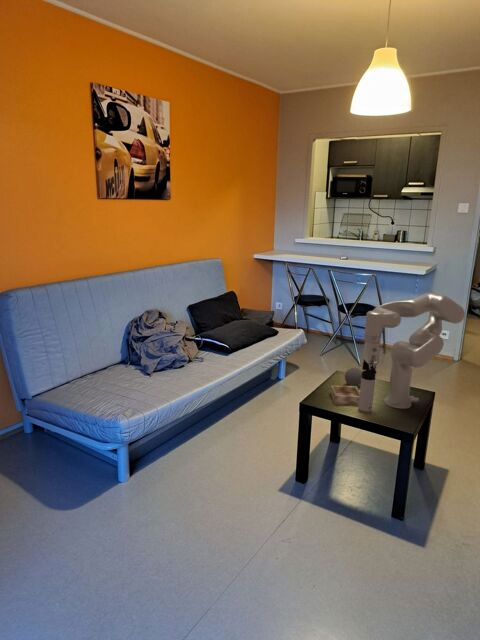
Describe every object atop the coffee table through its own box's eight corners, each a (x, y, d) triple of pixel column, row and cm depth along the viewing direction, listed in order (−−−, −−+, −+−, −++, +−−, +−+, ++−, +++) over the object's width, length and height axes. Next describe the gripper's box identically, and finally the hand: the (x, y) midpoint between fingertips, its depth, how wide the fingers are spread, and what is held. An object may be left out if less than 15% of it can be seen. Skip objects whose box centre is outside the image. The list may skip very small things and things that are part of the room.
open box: (355, 394, 231) (356, 386, 230) (361, 405, 218) (362, 396, 217) (330, 393, 231) (330, 385, 230) (334, 404, 218) (335, 396, 217)
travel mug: (373, 414, 209) (377, 374, 204) (358, 412, 211) (362, 372, 206) (372, 408, 215) (376, 369, 210) (357, 407, 217) (361, 368, 211)
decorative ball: (351, 380, 249) (353, 363, 246) (366, 386, 241) (368, 369, 239) (340, 385, 243) (341, 367, 240) (355, 391, 235) (357, 373, 233)
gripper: (386, 344, 195) (381, 380, 200) (375, 333, 212) (371, 367, 216) (369, 343, 195) (364, 380, 200) (359, 332, 212) (356, 366, 216)
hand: (368, 373), depth 208 cm, fingers open, 9 cm apart
